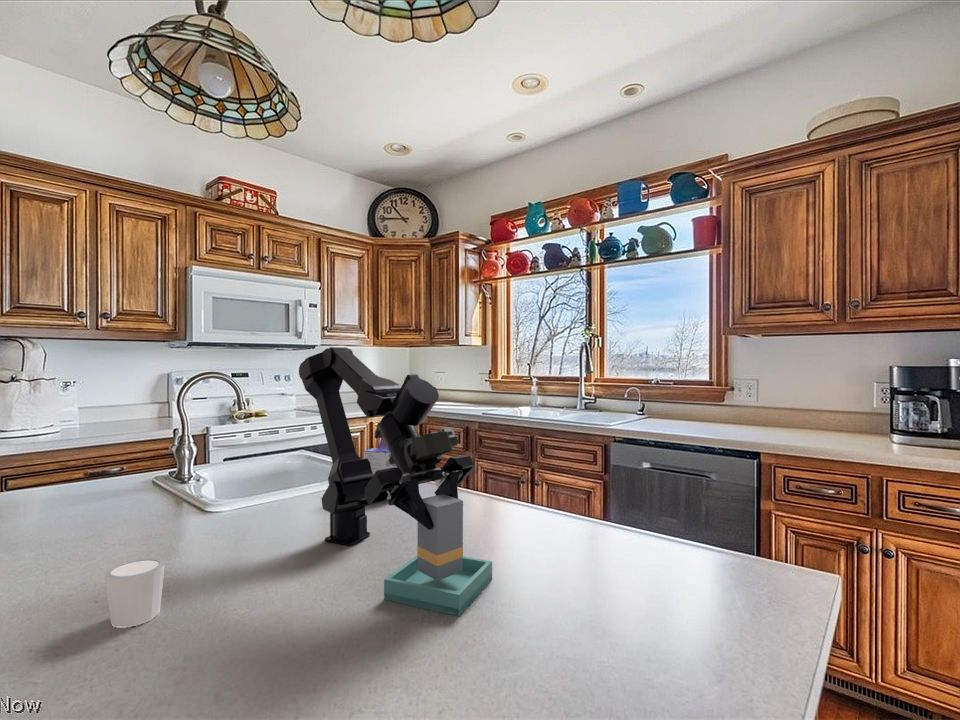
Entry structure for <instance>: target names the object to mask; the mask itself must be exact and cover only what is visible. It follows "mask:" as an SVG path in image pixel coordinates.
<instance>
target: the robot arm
mask: <svg viewBox="0 0 960 720" xmlns="http://www.w3.org/2000/svg"><path fill="white" fill-rule="evenodd" d="M298 375H299V378H300V379H301V381H302V384H303V387H304V390H305V391H306V393H308V394H309V395H310V396H311V397H312V398H314V400H316V404H317V408H318V412H319V414H320V415H319V416H320V420H321V423H322V427H323V431H324V434H325V438H326V442H327V446H328V450H329V455H330V458H331V463H332V464H331V468H330V471H329V474H328V477H327V479H328V480H327V481H328V482H327V483H328V486H327V487H326V490H325V492H324V493H323V494H322V497H321V499H320V500H321V505H322V509H323V510H324V511H326V512H328V513H329V536H326V537H324V542H329V543H335V544H340V545H345V546H346V545H347V546H353V545H355V544H357V543H358V542H360V541H362V540H364V539H365V538H367V537H369V536H371V532H369V531H368V515H367V514H366V507H368V506H369V507H370V506H374V505H378V504H382V503H385V502H386V501H387V500H388V501H387V504H388V506H390V507H391V506H394V507H396V508H397V509H399V510H401V511H403V512H404V513H405V514H408V515H409V516H410V517H412V518H413V519H415V521H417V523H418V522H419V523H421V524H422V525H423V526H425V527H426V528H427V529H428V530H431V529H432V528H433V527H434V524H433V522H432V519H431V516H430V514H429V512H428V510H427V508H426V506H425V504H424V502H423V500H422V499H423V498H422V496H421V494H420V489H419V485H420V484H425V483H431V482H434V483H435V485H436V487H437V489H436V490H435V491H434V496H436V495H440V494H445V495H448V496H451V497H454V498H457V499H459V493H458V486H459V485H461V484H462V483H464V481H465V480H466V479H467V477H468V476H469V475H470V473H471V472H472V471H473V470H474V469H475V468H476V464H475V463H474V460H473V459H472V457H471V456H470V455H467V454H462V455H461V454H460V455H457V456H456V455H455V456H452V457H449V458H448V459H447V461H446V462H445V463H444V465H443V466H441V467H440V466H439V467H437V466H436V465H437V464H439V463H440V462H441V461H442V460H443V458H442V456H443V455H445V454H446V453H450V452H453V451H454V450H453V448H454V447H456V446H457V445H458V443H459V440H458V437H457V434H456V433H455V431H454V430H453V428H452V427H444V428H442V429H441V430H438V431H436V432H431V433H426V434H424V435H421V434H420V433H419V430H418V429H417V427H416V426H419V425H421V424H423V423H424V421H425V420H426V419H427V416H429V413H430V412H431V410H432V409H433V408H434V406H435V404H436V403H437V401H438V400H439V391H438V389H437V387H435V386H434V385H432V384H431V383H430V382H428V381H426V380H425V379H422V378H420V376H419V375H418V374H416V373H414V374H407V375H406V376H405V378H404V380H403V384H399V383H397V382H396V381H394V380H392V379H389V378H385V377H381V376H379V375H377V374H376V373H374V371H372V370H371V369H370V368H369V367H368V366H367V365H365V364H364V362H362V361H361V360H360V359H359V358H358V357H357V356H356V355H355V354H354V353H353V350H352V349H351V348H348V347H343V346H342V347H337V346H336V347H335V346H334V347H332V346H331V347H328V348H325V349H324V350H323V351H322V352H319V353H316V354H314V355H311V356H308V357H306V358H305V359H304V361H302V362H301V363H300V364H299V367H298ZM343 382H345V383H346V384H347V385H348V386H349V387H350V388H351V389H352V390H353V391H354V392H355V393H356V395H357V400H356V404H357V405H358V407H359V408H360V410H361V411H362V413H363V414H364V415H365V416H366V417H367V418H375V417H382V418H381V420H379V421H380V422H377V425H376V429H375V431H374V438H375V439H382V440H384V441H385V445H387V447H388V449H389V451H390V453H391V457H390V458H389V462H390V464H391V465H392V464H396V466H397V468H396V467H394V468H388V469H383V470H377V471H376V472H375V474H373V472H372V470H371V465H370V461H369V460H368V459H367V458H365V459H364V458H362V457H360V456H359V455H358V453H357V451H356V447H355V443H354V439H353V436H352V432H351V429H350V425H349V422H348V418H347V415H346V412H345V407H344V405H343V400H342V397H341V394H340V389H341V387H342V384H343ZM387 491H389V493H390V496H391V498H390V499H387V497H388V493H387Z"/></svg>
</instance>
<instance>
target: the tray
mask: <svg viewBox="0 0 960 720" xmlns="http://www.w3.org/2000/svg"><path fill="white" fill-rule="evenodd" d="M492 581H493V561H492V560H488V559H481V558H475V557H470V556H464V555H463V571H462V572H459V573H457V574H454V575H451V576H449V577H446V578H444V579H441V580H439V581H436V580H435V579H433V578H431V577H429V576H427V575H425V574H423V573H422V572H420V571H418V570H417V555H416V556H414V557H413V558H411V559H410V560H408V561H407V562H406V563H404V564H403V565H401V567H398V568H397V570H395V571H393V572H392V573H390V574H389V575H388V576H386V577H385V578H384V579H383V599H384V600H386V601H389V602H394V603H399V604H402V605H403V604H404V605H406V606H407V605H408V606H412V607H416V608H420V609H426V610H429V611H433V612H439V613H443V614H448V615H450V616H456V617H460V616H461V615H462V614H463V613H464V612H465V610H466V609H468V607H469V606H470V605H471V604H472V603H473V602H474V601H475V599H476V598H477V597H478V596H479V595H480V594H481V593H482V592H483V591H484V589H486V587H487V586H488V585H489V584H490V583H491V582H492Z"/></svg>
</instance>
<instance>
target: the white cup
mask: <svg viewBox="0 0 960 720" xmlns="http://www.w3.org/2000/svg"><path fill="white" fill-rule="evenodd" d="M165 564H166V563H165V561H164V559H160V558H139V559H134V560H130V561H127V562H124V563H120V564H117V565H115V566H113V567H111V568H109V569H108V570H106V572H105V573H104V575H105V576H104V577H105V585H106V592H107V600H108V601H107V602H108V608H109V610H108V611H109V617H110V625H111V624H113V625H114V626H122V627H123V626H130V625H135V624H138V623H142V622H145V621H147V620H149V619H152V618H153V617H155V616H156V615H158V613H159V612H160V613H161V606H162V605H161V604H162V596H163V595H162V594H163V585H164V584H163V583H164V575H165ZM160 613H159V614H160ZM158 616H159V615H158Z"/></svg>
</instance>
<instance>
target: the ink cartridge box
mask: <svg viewBox="0 0 960 720" xmlns="http://www.w3.org/2000/svg"><path fill="white" fill-rule="evenodd" d="M384 443H385V441H384V439H380V440H379V444H378V448H373V447H372V448H369V449H366V450H364V451H363V459H365V458H367V459H368V460H369V461H370V465H371V470H372V472H373V474H375V472H376V471H377V470H383V469H388V468H394V467H396V468H397V466H396V464H392V465H391V464H390V462H389V458H390V457H391V453H390V451H389V449H388V447H387V445H386V443H385V445H384ZM387 493H388V497H387V499H386V500H390V498H391V496H390V493H389V491H387Z"/></svg>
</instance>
